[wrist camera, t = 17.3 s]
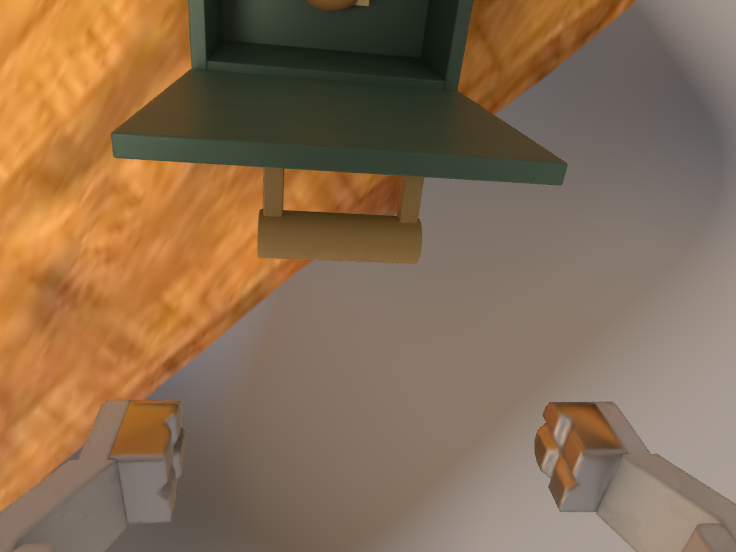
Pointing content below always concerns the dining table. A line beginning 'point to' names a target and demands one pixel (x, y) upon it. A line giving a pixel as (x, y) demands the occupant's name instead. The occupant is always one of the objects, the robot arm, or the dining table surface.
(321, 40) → the bread bin
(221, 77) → the lid
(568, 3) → the dining table surface
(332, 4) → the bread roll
